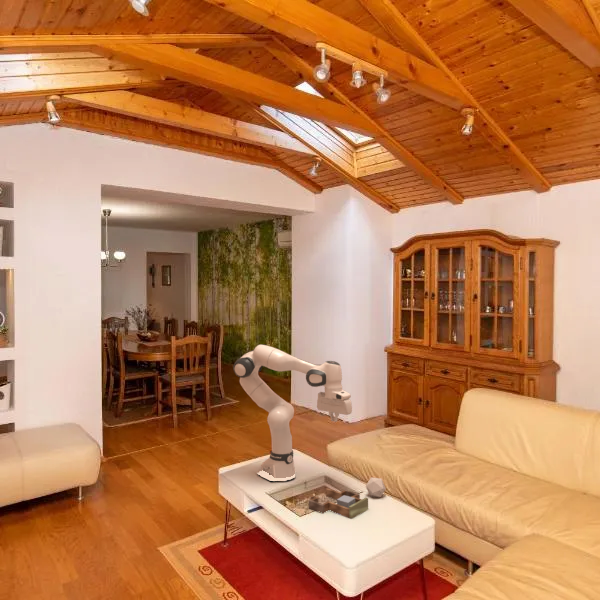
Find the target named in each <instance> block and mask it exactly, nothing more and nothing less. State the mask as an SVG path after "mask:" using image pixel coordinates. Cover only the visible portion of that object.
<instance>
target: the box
mask: <svg viewBox="0 0 600 600" xmlns="http://www.w3.org/2000/svg"><path fill="white" fill-rule="evenodd" d="M344 495H345V496H349V497H353V498H355V504H353V505H351V506H349V508H347V507H344V506H341V505H338V504H337V503H334V502H332V501H329V500H328V501H326V502H323V503H321V502H319V501H320V500H319V499H320V498H319V497H318V496H315V495H310V497H309V498H310V499H309V500H308V509H310V510H313V511H315V512H318V511H320V512H322V513H321V514H325V513H327V512H329V511H328V510H331V511H330V512H332V511H333V512H332V513H335V512H336V513H335V514H337V513H338V515H340V514H341V515H340V516H344V517H345V518H349V519H353V518H355V517H357V516H360V514H362V513H364V512H366V511H368V510H369V498H368V497H363V498H361V496H360V493H358V492H354V491H351V490H347V489H344V490H341V491H337V490H334V489H331V488H328V487H326V488H325V497H328V498H331V499H333V500H336V501H337V499H339V498H340V497H342V496H344ZM326 511H327V512H326ZM320 512H319V513H320ZM324 512H325V513H324Z"/></svg>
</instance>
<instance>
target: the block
mask: <svg viewBox="0 0 600 600" xmlns="http://www.w3.org/2000/svg"><path fill="white" fill-rule="evenodd" d="M336 504H338V505H341V506H344V507H347V508H349V506H351V505H353V504H355V498H353V497H349V496H345V495H344V496H342V497H340V498H339V499H337V500H336Z"/></svg>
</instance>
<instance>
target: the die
mask: <svg viewBox="0 0 600 600" xmlns="http://www.w3.org/2000/svg"><path fill="white" fill-rule="evenodd" d="M365 488H366V490H367V492H368V495H369V497H373V496H374V498H379V497H382V496H383V494H384V492H385V491H386V489H387V487H386V486H385V483H384V480H383V478H378V477H372V476H371V477H370V478H369V480H368V482H367V483H366V485H365Z"/></svg>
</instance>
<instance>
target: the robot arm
mask: <svg viewBox="0 0 600 600" xmlns="http://www.w3.org/2000/svg"><path fill="white" fill-rule="evenodd" d="M263 367H265V368H267V369H270V370H273V371H276V372H288V371H296V372H300V373H302V374H305V380H306V383H307V384H308V385H309V386H311V387H312V388H313V387H315V388H318V387H324V391H320V392H318V393H317V400H316V409H317V410H319V411H322V412H323V411H324V412H328V414H329V417H330V421H331V422H334V423H335V422H338V421H339V420H338V418H339V417H340V415H346V416H348V415H351V414H352V413H353V412H352V411H353V405H352V401H351V393H349V392H348V391H346V390H344V389H343V386H342V385H343V384H342V382H343V381H342V380H343V375H342V374H343V373H342V367H341V364H340V363H339V362H337V361H334V360H326V361H325V362H324V363H322V364H317V363H316V364H315V363H311V362H309V361H306V360H303V359H301V358H298V357H296V356H293V355H291V354H289V353H287V352H285V351H283V350H280V349H279V348H276V347H273V346H270V345H267V344H258V345H257V346H255V347H254V349H253V350H250V351H249V352H247V353H244V354H243V355H242V356H241V357H240V358H237V359H236V360H235V362H234V363H233V366H232V369H233V372H234V374H235V375H236V376H237V377H238V378H239V384H240V386H241V387H242V389H243V390H244V391H245V393H246V394H247V395H248V396H249V397H250V398H251V400H252V401H253V402H254V403H255V404H256V405H257V406H258V407H259V408H261V409H263V410H265V411H266V412H268V416H267V424H268V426H269V430H270V437H271V451H269V452H268V455H269V457H268V458H267V459H265V460H264V461H263V462H262V464H261V467H260V468H261V469H262V470H263V471H265V472H267V473H269V475H272V476H273V477H274V478H286V477H291V476H293V475H294V474H295V471H296V470H295V462H294V450H293V436H292V433H291V427H290V422H291V420H292V419H293V418H294V414H295V407H294V406H293V405H292V404H291V403H290V402H288V401H286V400H285V399H283V398H282V397H280V395H278V394H277V393H276V392H275V391H273V390H272V389H271V388H270V386H269V385H267V383H266V382H265V381H264V380H263V379H262V378H261V377H260V375H259V372H261V371H262V369H263ZM261 469H260V470H261Z"/></svg>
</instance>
